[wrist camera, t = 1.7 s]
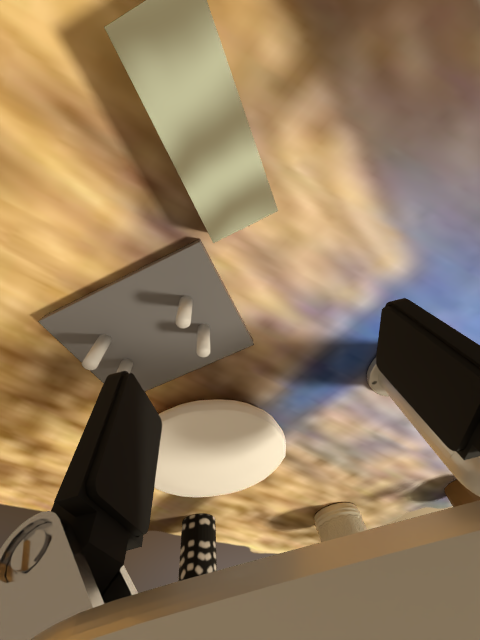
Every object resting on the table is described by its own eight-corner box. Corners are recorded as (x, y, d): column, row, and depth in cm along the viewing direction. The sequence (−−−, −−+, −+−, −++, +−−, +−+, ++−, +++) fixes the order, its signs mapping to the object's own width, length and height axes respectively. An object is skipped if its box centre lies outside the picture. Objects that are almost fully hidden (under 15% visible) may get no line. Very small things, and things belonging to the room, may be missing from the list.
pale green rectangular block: (124, 56, 21) (104, 27, 17) (197, 10, 21) (195, -32, 16) (212, 232, 29) (213, 243, 25) (267, 205, 29) (278, 210, 24)
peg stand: (200, 238, 29) (198, 254, 24) (252, 338, 37) (260, 368, 32) (44, 315, 32) (10, 346, 26) (125, 393, 40) (112, 429, 34)
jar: (357, 516, 75) (396, 604, 60) (315, 527, 75) (342, 617, 60) (357, 496, 68) (400, 589, 53) (310, 508, 68) (340, 604, 53)
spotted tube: (176, 519, 63) (165, 650, 46) (207, 510, 62) (208, 639, 45) (190, 531, 67) (185, 655, 50) (219, 523, 66) (224, 645, 49)
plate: (315, 459, 48) (210, 515, 54) (302, 428, 53) (208, 482, 60) (217, 400, 32) (88, 487, 39) (213, 364, 38) (100, 446, 44)
